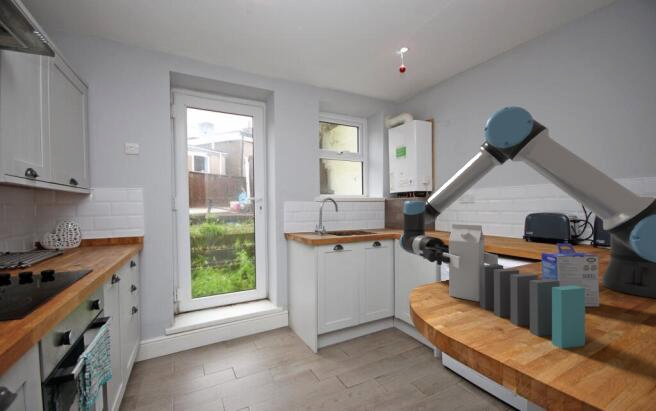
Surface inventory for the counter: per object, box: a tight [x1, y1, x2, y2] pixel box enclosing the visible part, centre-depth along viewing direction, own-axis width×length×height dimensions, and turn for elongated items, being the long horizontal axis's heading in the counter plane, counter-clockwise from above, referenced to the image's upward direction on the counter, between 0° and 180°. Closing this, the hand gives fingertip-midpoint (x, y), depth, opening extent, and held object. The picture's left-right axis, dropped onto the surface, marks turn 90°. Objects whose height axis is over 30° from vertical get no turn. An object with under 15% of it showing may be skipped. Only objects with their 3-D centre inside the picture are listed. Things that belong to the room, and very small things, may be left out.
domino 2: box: [493, 268, 520, 318], centre depth 60 cm, size 2×5×10 cm, turn 101°
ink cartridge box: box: [541, 242, 600, 307], centre depth 67 cm, size 10×6×14 cm, turn 89°
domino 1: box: [479, 263, 504, 310], centre depth 64 cm, size 2×5×10 cm, turn 101°
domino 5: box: [551, 285, 586, 349], centre depth 47 cm, size 2×5×10 cm, turn 101°
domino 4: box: [529, 279, 560, 337], centre depth 52 cm, size 2×5×10 cm, turn 101°
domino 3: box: [510, 272, 539, 327], centre depth 56 cm, size 2×5×10 cm, turn 101°
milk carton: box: [448, 223, 485, 303], centre depth 72 cm, size 7×7×19 cm
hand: (478, 261), depth 68 cm, fingers closed on milk carton, 10 cm apart
